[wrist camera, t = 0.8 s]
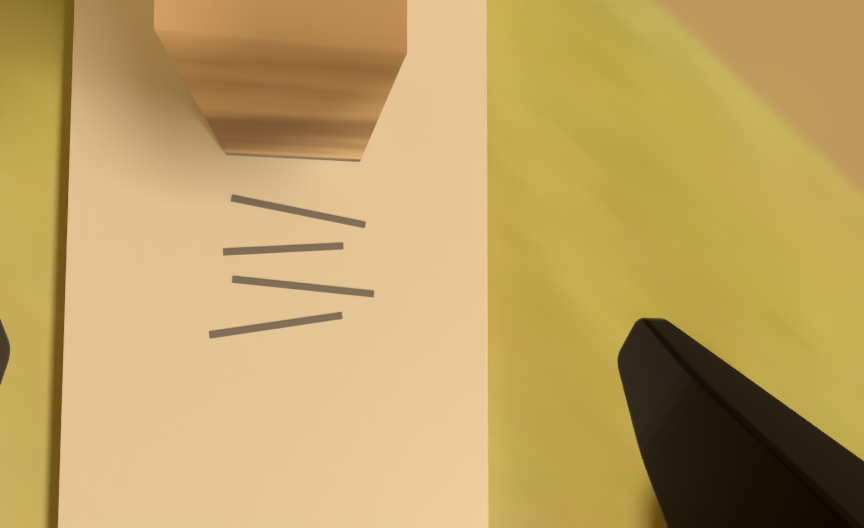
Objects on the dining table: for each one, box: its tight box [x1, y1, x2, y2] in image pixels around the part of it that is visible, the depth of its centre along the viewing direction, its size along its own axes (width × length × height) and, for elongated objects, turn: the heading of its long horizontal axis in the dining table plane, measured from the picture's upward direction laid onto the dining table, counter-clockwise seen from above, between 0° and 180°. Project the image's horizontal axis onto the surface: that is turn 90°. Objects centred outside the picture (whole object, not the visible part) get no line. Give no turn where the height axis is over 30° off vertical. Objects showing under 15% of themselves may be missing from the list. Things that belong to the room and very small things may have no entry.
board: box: [58, 0, 488, 528], centre depth 20 cm, size 22×14×1 cm, turn 0°
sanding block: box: [154, 0, 407, 162], centre depth 15 cm, size 4×4×10 cm
